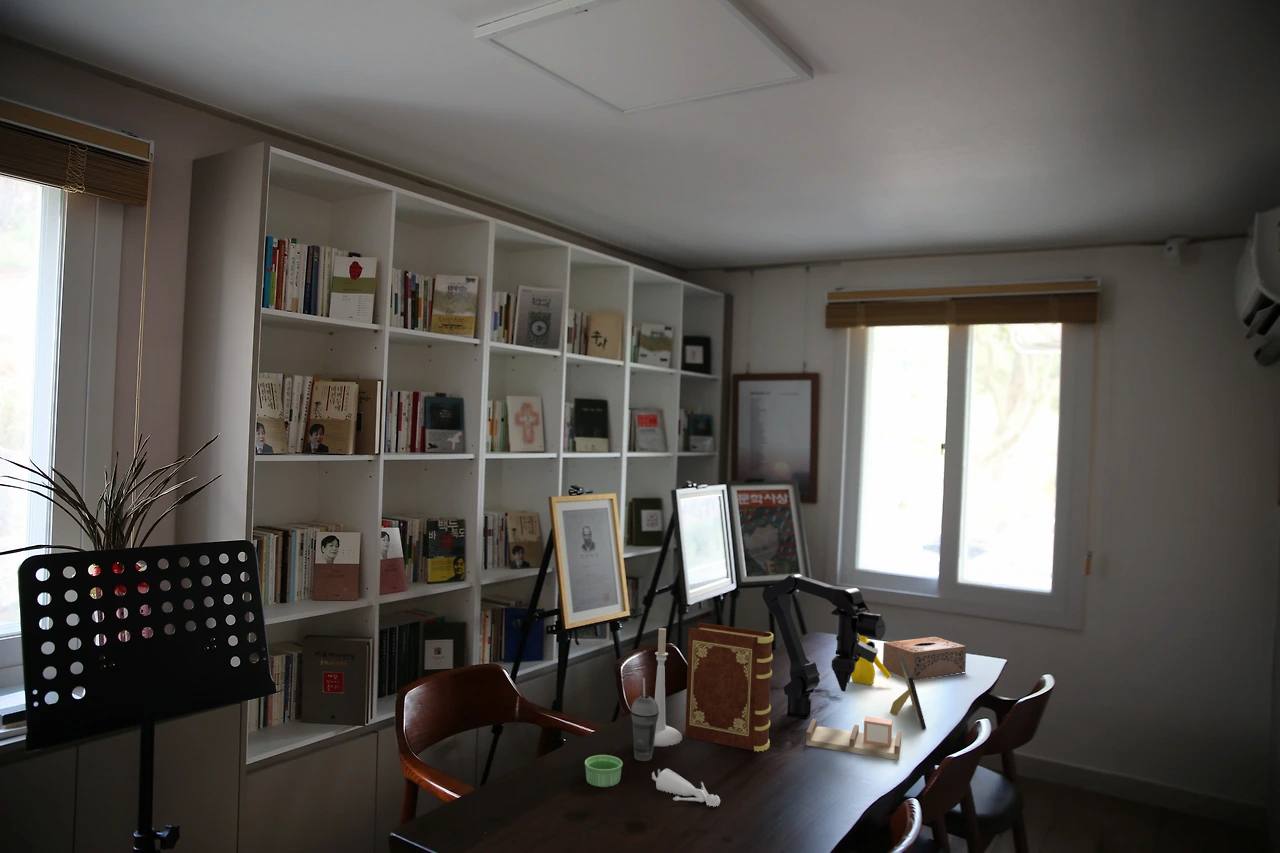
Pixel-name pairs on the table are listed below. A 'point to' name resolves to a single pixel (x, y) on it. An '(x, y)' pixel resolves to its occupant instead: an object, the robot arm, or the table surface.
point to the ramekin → (603, 770)
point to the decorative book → (729, 686)
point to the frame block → (877, 731)
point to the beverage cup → (644, 725)
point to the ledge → (850, 741)
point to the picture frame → (913, 695)
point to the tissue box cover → (925, 657)
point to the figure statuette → (867, 668)
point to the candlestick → (663, 699)
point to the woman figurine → (683, 788)
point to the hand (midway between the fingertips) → (845, 686)
